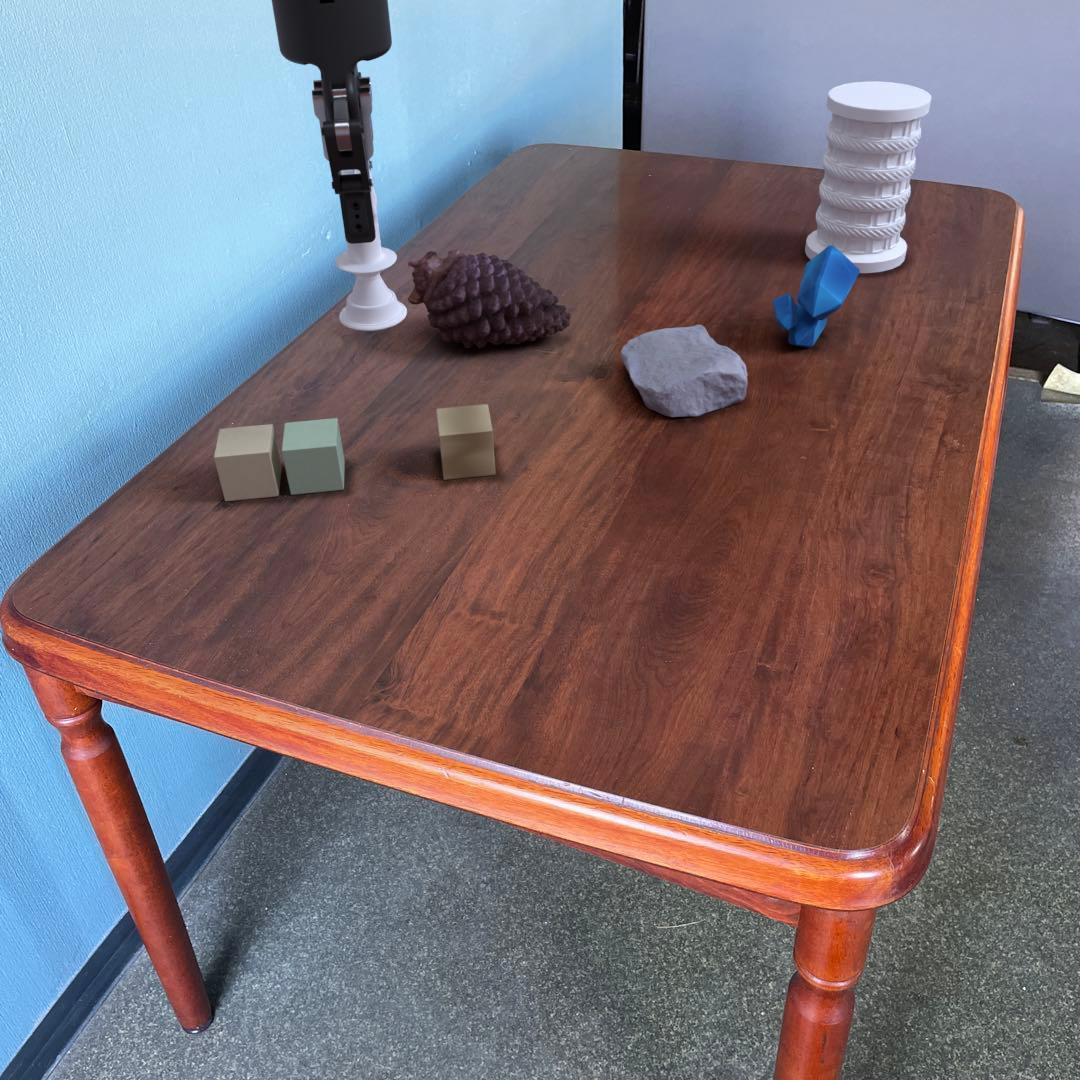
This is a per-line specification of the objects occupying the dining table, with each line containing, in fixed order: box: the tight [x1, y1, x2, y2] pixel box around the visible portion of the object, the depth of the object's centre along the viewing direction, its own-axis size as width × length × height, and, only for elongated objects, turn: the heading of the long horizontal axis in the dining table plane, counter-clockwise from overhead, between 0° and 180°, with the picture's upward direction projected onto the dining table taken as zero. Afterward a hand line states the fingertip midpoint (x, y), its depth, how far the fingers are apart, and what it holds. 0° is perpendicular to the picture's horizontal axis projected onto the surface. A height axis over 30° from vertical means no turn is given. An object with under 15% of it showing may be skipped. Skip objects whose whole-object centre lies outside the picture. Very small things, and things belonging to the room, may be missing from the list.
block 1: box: [213, 423, 283, 502], centre depth 91 cm, size 4×4×4 cm
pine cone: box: [407, 249, 572, 349], centre depth 110 cm, size 18×10×10 cm
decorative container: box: [804, 80, 933, 274], centre depth 122 cm, size 12×12×18 cm
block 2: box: [281, 417, 346, 496], centre depth 92 cm, size 4×4×4 cm
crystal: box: [772, 245, 861, 349], centre depth 109 cm, size 7×9×12 cm
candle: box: [334, 169, 408, 332], centre depth 81 cm, size 5×5×12 cm
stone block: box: [620, 324, 749, 418], centre depth 103 cm, size 12×5×10 cm
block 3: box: [435, 403, 496, 481], centre depth 93 cm, size 4×4×4 cm
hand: (361, 232), depth 80 cm, fingers closed on candle, 2 cm apart
